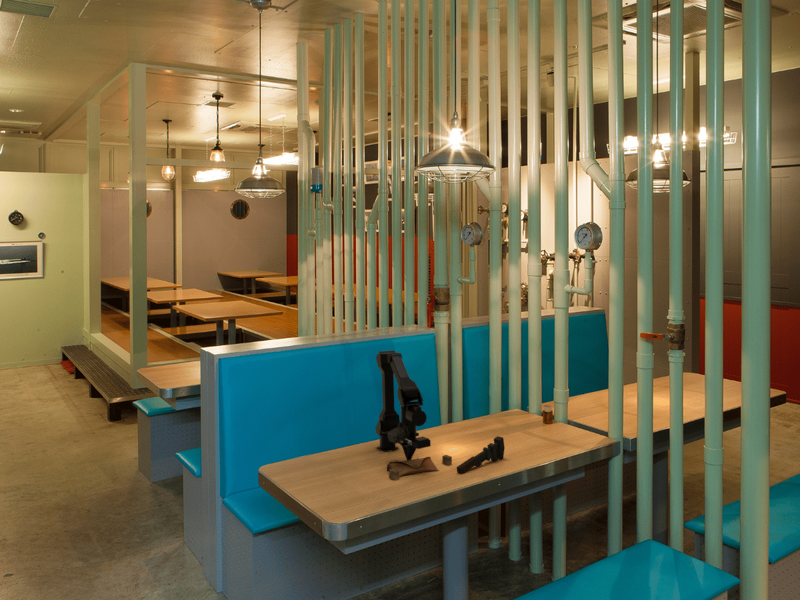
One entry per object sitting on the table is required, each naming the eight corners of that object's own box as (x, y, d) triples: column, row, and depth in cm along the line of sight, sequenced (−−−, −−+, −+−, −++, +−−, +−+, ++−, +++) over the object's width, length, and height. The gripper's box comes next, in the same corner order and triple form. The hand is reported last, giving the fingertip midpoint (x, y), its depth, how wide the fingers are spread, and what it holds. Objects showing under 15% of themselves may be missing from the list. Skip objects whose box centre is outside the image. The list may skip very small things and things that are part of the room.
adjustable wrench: (458, 485, 235) (500, 456, 252) (464, 486, 233) (505, 457, 250) (455, 463, 233) (497, 436, 250) (461, 465, 231) (503, 437, 248)
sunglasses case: (396, 478, 228) (392, 459, 231) (389, 482, 234) (385, 464, 237) (441, 470, 236) (436, 452, 239) (433, 475, 242) (429, 457, 244)
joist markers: (389, 478, 228) (389, 469, 228) (446, 462, 245) (446, 454, 245) (394, 480, 226) (394, 472, 226) (451, 464, 243) (451, 456, 242)
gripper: (375, 417, 241) (376, 459, 243) (407, 428, 227) (407, 472, 228) (399, 413, 248) (399, 453, 249) (431, 423, 234) (431, 465, 235)
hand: (408, 461), depth 240 cm, fingers closed
